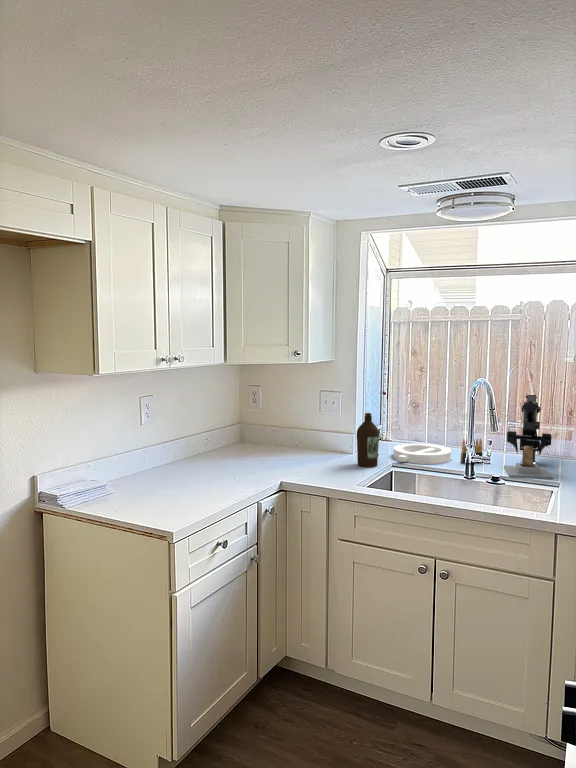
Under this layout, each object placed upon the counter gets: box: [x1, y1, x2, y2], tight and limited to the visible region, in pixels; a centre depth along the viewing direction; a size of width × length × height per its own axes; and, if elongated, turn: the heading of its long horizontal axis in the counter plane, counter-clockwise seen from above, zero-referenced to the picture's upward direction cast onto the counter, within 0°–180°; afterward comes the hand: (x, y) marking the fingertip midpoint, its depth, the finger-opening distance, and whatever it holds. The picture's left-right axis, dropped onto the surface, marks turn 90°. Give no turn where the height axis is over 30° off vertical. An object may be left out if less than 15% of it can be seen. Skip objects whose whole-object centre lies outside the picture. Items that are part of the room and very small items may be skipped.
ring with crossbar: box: [393, 443, 452, 465], centre depth 300 cm, size 28×28×5 cm
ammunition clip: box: [460, 437, 483, 464], centre depth 288 cm, size 11×2×12 cm, turn 101°
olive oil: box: [356, 412, 380, 468], centre depth 282 cm, size 11×11×25 cm
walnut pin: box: [522, 446, 533, 467], centre depth 268 cm, size 4×4×11 cm
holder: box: [503, 462, 554, 480], centre depth 268 cm, size 18×18×4 cm
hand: (528, 453), depth 266 cm, fingers open, 9 cm apart
